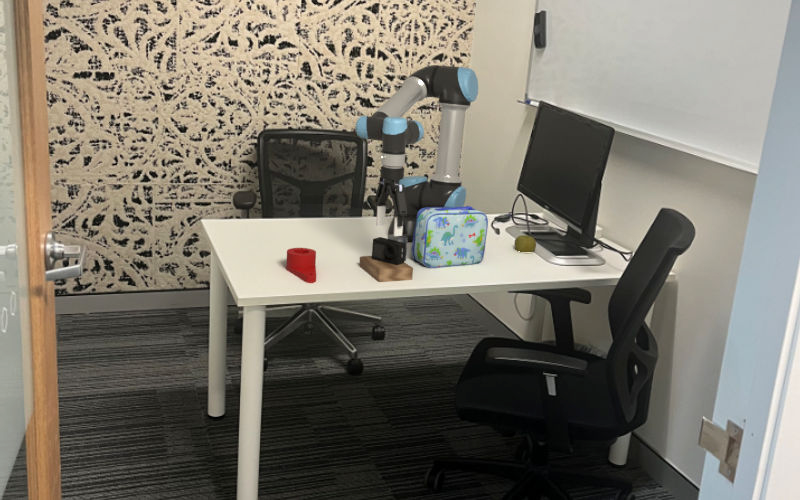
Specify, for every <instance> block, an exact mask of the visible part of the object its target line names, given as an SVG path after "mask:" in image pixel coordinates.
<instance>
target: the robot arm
mask: <svg viewBox="0 0 800 500" xmlns="http://www.w3.org/2000/svg"><path fill="white" fill-rule="evenodd" d="M477 77H478V76H477V73H476V72H475V71H474V70H473V69H472V68H469V67H463V66H450V65H448V66H447V65H439V64H434V65H431V64H430V65H428V66H424V67H422V68H420V69H417V70H416V71H414V72H413V73H411V74H410V75H409V76H407V77H406V78H405V79H404V81H403V82H402V86H401V87H400V88H399V89H398V90H397V91H396V92H395V93H393V95H391V97H389V98H388V99H387V100H386V101H385V102H384V103H383V104H382V105H381V106H380V107H379V108H378V109H377V110H376V111H375V112H374V113H372V114H371V115H370V116H369V115H361V116H359V118H357V120H356V123H355V131H356V135H357V136H358V137H359V138H361V139H366V140H368V141H369V140H372V141H379V142H380V141H381V144H382V145H381V156H380V163H381V165H382V166H380V177H379V182H378V186H377V189H376V193H375V196H374V199H373V200H374V203H376V206H377V207H376V221H375V222H376V226H377V227H378V226H380V227H381V226H385V224H386V209H387V208H386V206H387V203H386V202H387V200H388V198H389V197H390V198H391V200H392V204H393V217H392V220H391V222H390V224H389V226H388V229H387V236H388V235H391V234H394V236H402V235H405V236H407V237H408V241H407V242H413V237H414V230H415V225H416V218H417V214H418V212H419V210H420V209H422V208H427V207H465V206H464V205H465V202H466V197H467V189H466V188H465V187H464V186H463V185H462V183H463V182H462V179H461V178H460V177H459V170H460V163H461V155H462V146H463V136H464V128H465V118H466V112H467V110H468V109H469V108H470V107H471V103H473V102H475V101H476V99H477V96H478V93H479V81H478V78H477ZM425 98H434V99H435V98H436V99H438V102H437V103H438V106H440V108H441V115H440V124H439V134H438V143H437V152H436V153H437V154H436V161H435V169H434V170H435V171H434V174H433V175H432V176H431V177H430V180H429V181H428V177H427V176H423V175H414V176H413V175H412V176H405V175H404V174H405V168H404V166H405V163H406V147H407V146H409V145H415V144H416V143H419V142H420V141H421V140H422V139H423V138H424V136H425V128H424V126H423V124H422V123H421V122H420V121H418V120H412V119H410V120H407V119H406V117H403V116H405V114H406V113H407V112H408V111H410V109H411V108H413V106H415V104H417V103H418V102H421V101H423V100H424V99H425Z"/></svg>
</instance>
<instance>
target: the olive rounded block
mask: <svg viewBox="0 0 800 500" xmlns="http://www.w3.org/2000/svg"><path fill="white" fill-rule="evenodd" d="M536 248H537V242H536V239H535V238H534V236H530V235H526V234H525V235H523V234H522V235H519V236H517V237H516V238H515V240H514V249H515V251H516V250H517V251H516V252H518V251H520V252H519V253H521V252H533V251H534V252H535V250H536ZM534 252H533V253H534Z"/></svg>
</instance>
